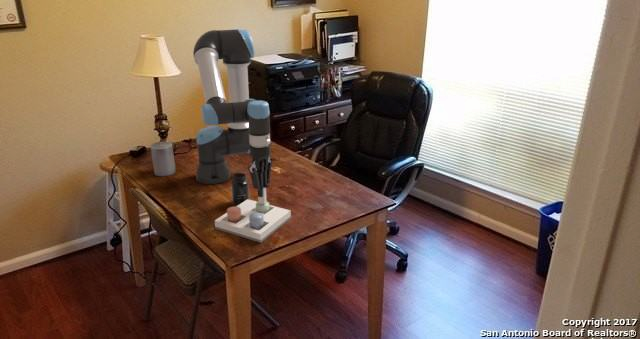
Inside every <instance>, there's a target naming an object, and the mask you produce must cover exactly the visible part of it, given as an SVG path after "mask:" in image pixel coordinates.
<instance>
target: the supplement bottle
mask: <svg viewBox="0 0 640 339" xmlns="http://www.w3.org/2000/svg"><path fill="white" fill-rule="evenodd" d="M246 175H247V174H245V173H243V172H239V173H238V172H237V173H235V174H233V181H232V182H231V186H230V187H231V201H232V204H233V205H234V206H238V205H239V204H241V203H243V202H244V201H246V200H247V199H249V200H250V190H249V189H250V188H249V182H248V180H247V177H246Z"/></svg>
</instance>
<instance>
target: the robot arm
mask: <svg viewBox="0 0 640 339" xmlns="http://www.w3.org/2000/svg"><path fill="white" fill-rule="evenodd" d="M196 40H197V41H196V42H195V44H194V46H193V51H192V53H193V54H192V55H193V60H194V62H195V63H196V65H198V70H199V77H200V81H201V82H200V83H201V86H202V92H203V97H204V102H205V104H202V105H201V116H202V117H201V118H202V122H203V124H204V125H205V126H207V127H204V128H201V129H200V130H198V131H197V133H196V142H195V143H196V146H197V157H198V158H197V159H198V166H197V169H196V173H195V176H196V178H195V179H196V181H197V182H198V183H199V184H204V185H218V184H221V183H226V182H228V180H230V178H231V171H230V169H229V167H228V164H227V162H226V156H234V155H235V156H236V155H243V154H245V155H246V154H249V155H250V156H251V157H252V160H251V166H248V168H247V170H248V172H249V174H250V179H251V184H252V187H253V189H254V190H257V197H258V198H257V199H258V200H257V202H258V203H259V204H263V205H265V204H267V202H268V201H267V188H270V185H269V184H270V183H271V174H272V165H273V161H274V157H270V156H271V154H272V151H271V149H272V148H271V147H272V146H271V128H270V127H271V126H270V124H271V123H270V122H271V121H270V114H271V111H270V107H269V106H270V105H269V103H268V101H265V100H256V99H254V98H250V96H249V95H250V89H249V75H248V74H249V72H248V71H249V70H248V67H249V65H250V64H251V62H252V61H251V59H253V58H255V46H254V42H253V37H252V35H251V33H250V31H248V30H247V29H238V28H237V29H219V30H218V29H217V30H216V29H213V30H209V31H205V33H203V34H202V35H200V36H199V38H198V39H196ZM219 60H222V64H223V65H224V66H225V67H226V70H227V86H228V102H227V98H226V93H225V89H224V85H223V81H222V77H221V72H220V68H219V63H218V61H219ZM226 124H227V128H226V129H224V128H223V127H222V126H221V125H226Z"/></svg>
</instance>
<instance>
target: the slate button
mask: <svg viewBox="0 0 640 339" xmlns="http://www.w3.org/2000/svg"><path fill="white" fill-rule="evenodd" d="M249 220H250V228H252V229H261V228H263V227H264V215H263V214H262V213H252V214H251V215H250V216H249Z"/></svg>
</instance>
